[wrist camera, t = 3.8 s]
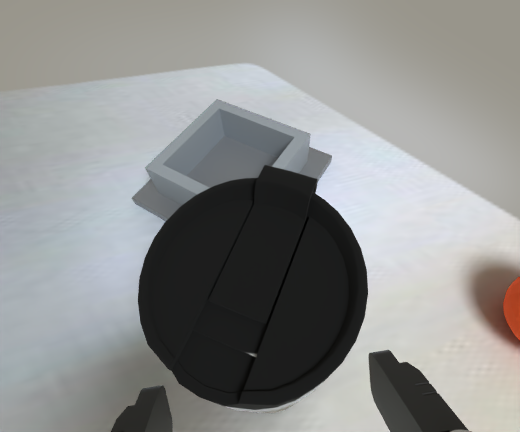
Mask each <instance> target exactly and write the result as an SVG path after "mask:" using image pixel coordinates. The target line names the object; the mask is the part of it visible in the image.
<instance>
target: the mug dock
mask: <svg viewBox="0 0 520 432" xmlns="http://www.w3.org/2000/svg"><path fill="white" fill-rule="evenodd" d="M310 135H311V134H309V133H307V132H304V131H301V130H299V129H296V128H293V127H290V126H288V125H285V124H282V123H280V122H277V121H274V120H272V119H269V118H266V117H264V116H261V115H258V114H256V113H253V112H250V111H248V110H245V109H242V108H239V107H237V106H234V105H231V104H229V103H226V102H223V101H221V100H218V99H217V100H215V101H214V102H213V103H212V104H211V105H210V106H209V107H208V108H207V109H206V110H205V111H204V112H203V113H202V114H201V115H200V116H199V117H198V118H197V119H196V120H195V121H194V122H192V123H191V124H190V125H189V126H188V127H187V128H186V129H185V130H184V131H183V132H182V133H181V134H180V135H179V136H178V137H177V138H176V139H175V140H174V141H173V142H172V143H170V144H169V145H168V146H167V147H166V148H165V149H164V150H163V151H162V152H161V153H160V154H159V155H158V156H157V157H156V158H155V159H154V160H153V161H152V162H151V163H150V164H148V165H147V166H146V167H145V169H146V171H147V172H148V174H149V176H150V178H151V180H150V181H149V182H148V183H147V184H146V185H145V186H144V187H143V188H142V189H141V190H139V191H138V192H137V193H136V194H135V195H134V196H133V197H132V199H133V201H134V202H135V204H137V205H139V206H140V207H142V208H144V209H146V210H147V211H149V212H151V213H153V214H154V215H156V216H158V217H160V218H161V219H163V220H165V221H167V220H168V219H169V218H170V217H171V216H172V215H173V214H174V213H175V212H176V210H177V209H178V208H179V207H180V206H182V205H183V204H185V203H186V202H187V201H189V200H190V199H191V198H193V197H194V196H195V195H197V194H199V193H201V192H203V191H205V190H207V189H209V188H211V187H213V186H215V185H218V184H222V183H225V182H228V181H231V180H237V179H244V178H258V177H259V175H260V173H261V171H262V169H263V167H264V165H268V166H272V167H276V168H280V169H284V170H288V171H292V172H296V173H299V174H302V175H306V176H309V177H312V178H316V179H318V181H319V179H320V178H321V176H322V175H323V173H324V172H325V170H326V169H327V167H328V166H329V164H330V162H331V159H332V156H331V155H329V154H326V153H323V152H321V151H318V150H316V149H313V148H311V147H309V144H310ZM318 181H317V182H318Z"/></svg>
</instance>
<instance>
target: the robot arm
mask: <svg viewBox="0 0 520 432" xmlns="http://www.w3.org/2000/svg"><path fill="white" fill-rule="evenodd" d="M369 370H370V385H371V391H372V395H373V398H374V401H375V404H376V406H377V408H378V409H379V411H380V413H381V415H382V417H383V419H384V421H385V423H386V425H387V426H388V428H389V430H390V432H471V431H469V430H468V429H467V428H466V427H465V426H464V424H463V423H462V422H461V421H460V419H459V418H458V417H457V416H456V415H455V413H454V412H453V411H452V410H451V408H450V407H449V406H448V405H447V403H446V402H445V401H444V400H443V399H442V397H441V396H440V395H439V394H437V392H436V390H435V389H434V387H433V386H432V385H431V384H429V381H428V380H427V379H426V378H425V376H424V375H423V374H422V373H421V371H420V370H418V369H417V368H415V367H414V366H412V365H411V364H409V363H408V362H403V363H399V362H398V361H397V359H396V358H395V357H394V355H393V354H392V353H391V351H389V350H385V351H379V352H373V353H369ZM111 432H172V417H171V413H170V408H169V404H168V400H167V396H166V391H165V388H164V386H156V387H150V388H144V389H142V390H141V392H140V394H139V397H138V399H137V401H136V404H135V405H133V406H128V407H127V408H126V409H125V410H124V411H123V412H122V414H121V415H120V416H119V417H118V418H117V419H116V422H115V424H114V426H113V428H112V430H111Z"/></svg>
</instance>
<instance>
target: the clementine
mask: <svg viewBox="0 0 520 432" xmlns="http://www.w3.org/2000/svg"><path fill="white" fill-rule="evenodd" d="M503 309H504V315H505V318H506V321H507V323H508V325H509V327H510V329H511V330H512V332H513V333H514V335H515V336H516V337H517V338H518V339H519V340H520V277H518V278H517V279H516V280H515V281H514V282H513V283H512V284H511V285H510V286H509V288H508V289H507V291H506V295H505V299H504V303H503Z"/></svg>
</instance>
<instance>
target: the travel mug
mask: <svg viewBox="0 0 520 432" xmlns="http://www.w3.org/2000/svg"><path fill="white" fill-rule="evenodd" d="M317 181H318V179H316V178H312V177H309V176H306V175H302V174H299V173H296V172H292V171H288V170H284V169H280V168H276V167H272V166H268V165H264V167H263V169H262V171H261V173H260V175H259V177H258V178H244V179H237V180H231V181H228V182H225V183H222V184H218V185H215V186H213V187H211V188H209V189H207V190H205V191H203V192H201V193H199V194H197V195H195V196H194V197H193V198H191V199H190V200H189V201H187V202H186V203H185V204H183V205H182V206H180V207H179V208H178V209H177V210H176V212H175V213H174V214H173V215H172V216H171V217H170V218H169V219H168V220H167V221H166V222H165V223H164V225H163V226H162V228H161V229H160V231H159V232H158V233H157V235H156V236H155V238H154V240H153V242H152V244H151V246H150V248H149V250H148V253H147V255H146V257H145V260H144V264H143V268H142V271H141V275H140V280H139V293H138V305H139V313H140V322H141V326H142V329H143V332H144V335H145V338H146V341H147V344H148V346H149V347H150V348H151V349H152V350H153V351H154V353H155V354H156V355H157V356H158V357H159V359H160V360H161V361H162V362H163V363H164V364H165V366H166V367H167V368H168V369H169V370H171V371H172V372H173V374H174V375H175V377H176V379H177V381H178V382H179V384H181V385H182V386H184V387H185V388H187V389H188V390H190V391H191V392H193V393H194V394H196V395H197V396H199V397H201V398H203V399H206V400H209V401H212V402H214V403H217V404H219V405H222V406H225V407H228V408H230V409H233V410H240V411H248V412H258V413H276V412H280V411H283V410H286V409H288V408H289V407H291V406H292V405H294V404H295V403H297V402H298V401H300V400H301V399H303V398H304V397H306V396H308V395H309V394H311V393H312V392H314V391H315V390H316V389H317V388H318V387H319V386H320V385H321V384H322V383H323V382H324V381H325V380H326V379H327V378H328V377H329V376H330V375H331V374H332V373H333V372H334V371H335V370H336V369H337V367H338V366H339V365H340V364H341V363H342V362H343V361H344V359H345V357H346V356H347V354H348V353H349V351H350V349H351V348H352V346H353V345H354V343H355V341H356V339H357V336H358V334H359V331H360V328H361V326H362V323H363V320H364V317H365V311H366V304H367V297H368V285H367V270H366V266H365V262H364V258H363V255H362V251H361V248H360V246H359V244H358V242H357V240H356V238H355V236H354V234H353V232H352V230H351V228H350V227H349V225H348V224H347V223H346V222H345V220H344V219H343V218H342V216H341V215H340V214H339V212H338V211H336V210H335V209H334V208H333V207H332V206H331V205H330V204H329V203H327V202H326V201H325V200H324V199H322V198H321V197H319V196H318V195H316V194H315V192H316V188H317Z"/></svg>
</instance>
